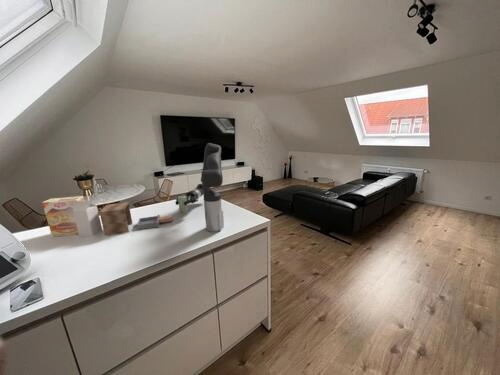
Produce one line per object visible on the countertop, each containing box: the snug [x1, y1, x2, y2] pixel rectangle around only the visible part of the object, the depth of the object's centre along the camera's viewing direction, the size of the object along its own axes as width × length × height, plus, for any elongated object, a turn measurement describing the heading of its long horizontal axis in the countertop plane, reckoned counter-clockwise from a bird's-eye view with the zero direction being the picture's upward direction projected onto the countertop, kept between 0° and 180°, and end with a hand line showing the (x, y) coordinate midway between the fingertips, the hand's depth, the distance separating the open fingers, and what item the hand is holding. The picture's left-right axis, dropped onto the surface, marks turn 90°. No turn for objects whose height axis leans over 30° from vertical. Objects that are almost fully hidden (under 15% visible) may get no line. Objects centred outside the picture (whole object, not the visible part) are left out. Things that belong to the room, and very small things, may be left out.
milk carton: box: [73, 200, 103, 238], centre depth 105 cm, size 7×7×19 cm
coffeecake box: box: [41, 195, 85, 238], centre depth 108 cm, size 15×7×20 cm, turn 105°
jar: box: [177, 195, 189, 215], centre depth 123 cm, size 5×5×10 cm
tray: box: [136, 214, 173, 230], centre depth 119 cm, size 18×12×3 cm, turn 111°
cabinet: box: [99, 201, 133, 237], centre depth 111 cm, size 11×12×14 cm
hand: (180, 203), depth 120 cm, fingers closed on jar, 5 cm apart
